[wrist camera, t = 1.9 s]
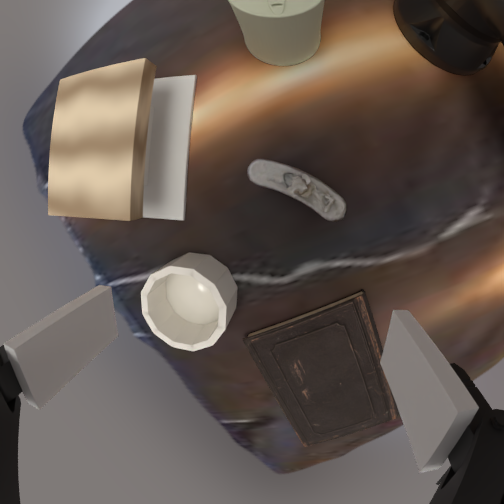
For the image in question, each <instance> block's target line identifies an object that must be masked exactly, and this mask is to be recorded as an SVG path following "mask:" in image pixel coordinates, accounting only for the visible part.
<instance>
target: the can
mask: <svg viewBox="0 0 504 504" xmlns="http://www.w3.org/2000/svg"><path fill="white" fill-rule="evenodd" d="M228 1H229V3H230V5H231V7H232V9H233V11H234V13H235V15H236V18H237V20H238V22H239V25H240V27H241V30H242V32H243V35H244V39H245V44H246V46H247V48H248V50H249V51H250V53H251V54H252V55H253V56H255V57H256V58H257V59H259V60H261V61H263V62H265V63H267V64H271V65H276V66H291V65H296V64H299V63H302V62H304V61H306V60H307V59H309V58H310V57H312V56H313V55H314V54H315V52H316V51H317V49H318V48H319V45H320V41H321V34H320V30H321V22H322V15H323V8H324V1H325V0H228Z"/></svg>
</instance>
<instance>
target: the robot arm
mask: <svg viewBox="0 0 504 504" xmlns="http://www.w3.org/2000/svg"><path fill="white" fill-rule="evenodd" d="M394 15H395V19H396V21H397V24H398V26H399V28H400V30H401V31H402V33H403V34H404V36H405V37H406V39H407V40H408V41H409V42H410V43H411V45H412V46H413V47H414V48H415V49H416V50H417V51H418V52H419V53H420V54H421V55H423V56H424V57H425V58H426V59H428V60H429V61H430V62H432V63H433V64H435V65H436V66H438V67H440V68H442V69H444V70H446V71H448V72H451V73H454V74H458V75H471V74H474V73H476V72H478V71H480V70H482V69H483V68H485V67H486V66H487V65H488V64H489V62H490V60H491V58H492V56H493V55H494V53H495V51H496V49H497V47H498V45H499V43H500V42H502V44H503V45H504V0H395V2H394ZM117 337H118V330H117V324H116V318H115V312H114V305H113V298H112V291H111V287H108V286H102V285H99V286H97V287H95V288H93V289H92V290H90V291H88V292H87V293H85V294H83V295H81V296H80V297H78V298H76V299H75V300H73V301H71V302H70V303H68V304H66V305H65V306H63V307H61V308H60V309H58V310H56V311H55V312H53V313H51V314H50V315H48V316H47V317H45V318H43V319H42V320H40V321H38V322H37V323H35V324H33V325H32V326H30V327H29V328H27V329H25V330H24V331H22V332H21V333H19V334H18V335H16V336H14V337H13V338H11V339H10V340H8V341H7V342H5V343H4V345H3V346H1V347H0V504H20V496H19V483H18V482H19V481H18V432H19V417H20V407H21V401H20V398H19V396H18V395H19V394H20V393H21V392H23V394H24V396H25V398H26V400H27V402H28V403H29V404H30V405H32V406H34V407H35V408H37V409H39V410H40V409H41V408H42V407H43V406H44V405H45V404H46V403H47V402H48V401H49V400H51V399H52V398H53V397H54V396H55V395H56V394H57V393H58V392H59V391H60V390H61V389H62V388H63V387H64V386H65V385H66V384H67V383H68V382H69V381H70V380H71V379H72V378H73V377H75V376H76V375H77V374H78V373H79V372H80V371H81V370H82V369H83V368H84V367H85V366H86V365H87V364H88V363H90V362H91V361H92V360H93V359H94V358H95V357H96V356H97V355H98V354H99V353H100V352H101V351H102V350H104V349H105V348H106V347H107V346H108V345H109V344H110V343H111V342H112V341H113V340H115V338H117ZM380 364H381V366H382V368H383V371H384V373H385V376H386V378H387V381H388V384H389V386H390V389H391V391H392V394H393V396H394V399H395V402H396V404H397V407H398V410H399V413H400V415H401V418H402V421H403V424H404V427H405V429H406V432H407V435H408V438H409V441H410V444H411V447H412V450H413V454H414V457H415V460H416V463H417V466H418V470H419V473H422V472H426V471H431V470H435V469H439V468H440V467H441V466H442V464H443V463H444V461H445V460H446V459H447V458H448V459H449V461H450V464H451V466H450V467H449V469H448V470H447V471H446V473H445V474H444V475H443V476H442V477H441V479H440V480H439V481H438V482H437V483H436V484H438V485H439V484H440V485H439V487H438V489H437V491H436V493H435V495H434V496H433V498H432V500H431V502H430V504H504V410H499V409H494V410H492V409H491V407H490V406H489V404H488V403H487V401H486V400H485V399H484V397H483V395H482V394H481V392H480V391H479V390H478V388H477V387H475V384H474V383H473V381H472V380H470V377H469V376H468V374H467V373H466V372H465V370H463V369H462V368H461V367H459V366H458V365H456V364H455V363H453V364H449V363H448V361H447V360H446V359H445V357H444V356H443V355H442V353H441V352H440V350H439V349H438V348H437V346H436V345H435V344H434V342H433V341H432V340H431V338H430V337H429V336H428V335H427V333H426V332H425V331H424V329H423V328H422V327H421V326H420V324H419V323H418V322H417V320H416V319H415V318H414V317H413V315H412V314H411V313H410V312H409V310H393V312H392V317H391V322H390V326H389V330H388V334H387V338H386V342H385V346H384V350H383V354H382V358H381V361H380Z"/></svg>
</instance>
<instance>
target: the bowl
mask: <svg viewBox="0 0 504 504" xmlns="http://www.w3.org/2000/svg"><path fill="white" fill-rule="evenodd" d="M237 289H238V287H237V285H236V283H235V281H234V279H233V277H232V275H231V273H230V271H229V269H228V268H227V267H226V266H225V265H223V264H222V263H220V262H219V261H218V260H216V259H215V258H213V257H212V256H211V255H206V254H198V253H187V254H185V255H183V256H181V257H179V258H176V259H174V260H172V261H171V262H169V263H168V264H166V265H165V266H163V267H162V268H160V269H158V270H157V271H155V272H154V273H152V274H151V275H150V277H149V278H148V280H147V282H146V284H145V286H144V288H143V290H142V292H141V302H142V314H143V316H144V318H145V319H146V321H147V323H148V324H149V326H150V328H151V330H152V331H153V333H154V334H155V335H157V336H158V337H159V338H161V339H162V340H163V341H165V342H166V343H167V344H169V345H170V346H172V347H175V348H180V349H185V350H190V351H196V350H199V349H203V348H206V347H209V346H212V345H214V343H215V342H216V341H217V340H218V338H219V337H220V336H221V334H222V333H223V332H224V331H225V329H226V327H227V325H228V323H229V321H230V319H231V317H232V315H233V313H234V311H235V309H236V304H237Z"/></svg>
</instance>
